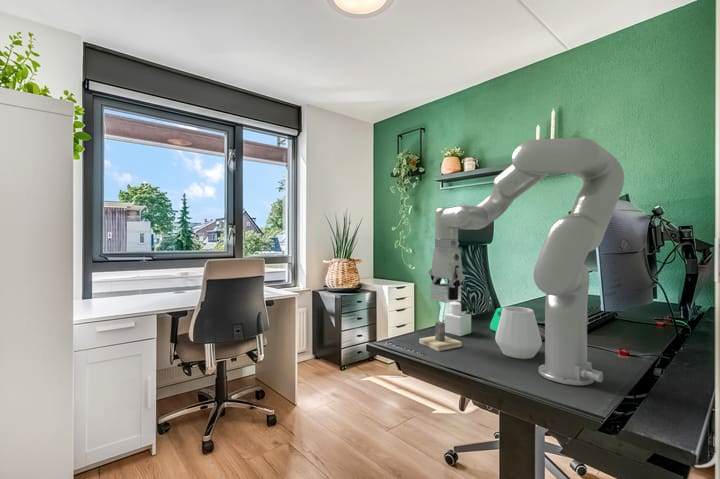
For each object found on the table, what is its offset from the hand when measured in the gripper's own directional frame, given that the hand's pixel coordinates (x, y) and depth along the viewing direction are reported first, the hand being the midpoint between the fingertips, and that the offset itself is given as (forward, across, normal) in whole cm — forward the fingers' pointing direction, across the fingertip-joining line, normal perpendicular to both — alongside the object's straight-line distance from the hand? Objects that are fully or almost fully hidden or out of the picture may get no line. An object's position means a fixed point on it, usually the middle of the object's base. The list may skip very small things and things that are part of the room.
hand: (445, 297), depth 118 cm
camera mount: (+17, -1, -31) cm, 35 cm away
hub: (+1, 0, 0) cm, 1 cm away
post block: (+16, +2, 0) cm, 17 cm away
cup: (+16, -17, -15) cm, 28 cm away
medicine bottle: (+17, +10, -16) cm, 25 cm away
